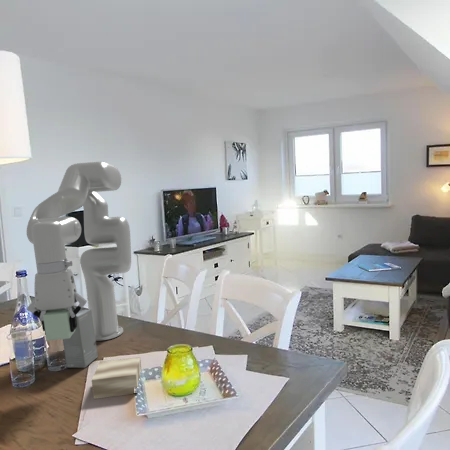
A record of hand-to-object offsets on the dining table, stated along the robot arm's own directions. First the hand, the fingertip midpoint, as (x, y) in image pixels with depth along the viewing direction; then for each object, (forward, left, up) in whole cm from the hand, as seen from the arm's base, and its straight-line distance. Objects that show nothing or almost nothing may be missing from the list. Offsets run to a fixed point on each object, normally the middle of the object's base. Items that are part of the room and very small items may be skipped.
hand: (60, 331), depth 115 cm
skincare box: (-13, +1, -15) cm, 20 cm away
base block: (+6, +15, -15) cm, 22 cm away
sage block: (0, 0, -1) cm, 1 cm away
